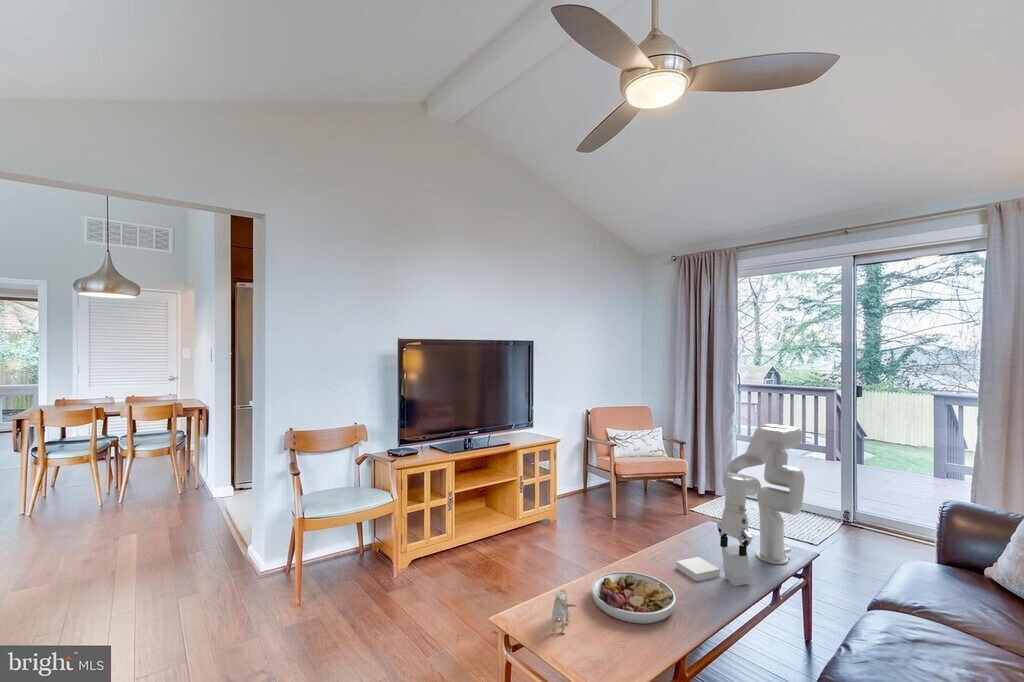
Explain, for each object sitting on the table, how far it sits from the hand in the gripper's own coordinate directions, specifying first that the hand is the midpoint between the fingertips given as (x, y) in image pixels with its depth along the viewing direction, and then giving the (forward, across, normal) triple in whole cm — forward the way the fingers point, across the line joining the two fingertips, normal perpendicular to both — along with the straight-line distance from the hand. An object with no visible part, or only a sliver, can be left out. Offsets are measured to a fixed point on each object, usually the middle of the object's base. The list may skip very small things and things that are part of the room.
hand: (732, 551), depth 186 cm
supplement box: (+12, +1, -4) cm, 13 cm away
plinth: (+13, +13, +6) cm, 19 cm away
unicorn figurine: (+21, -7, +75) cm, 78 cm away
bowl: (+18, +1, +45) cm, 49 cm away
